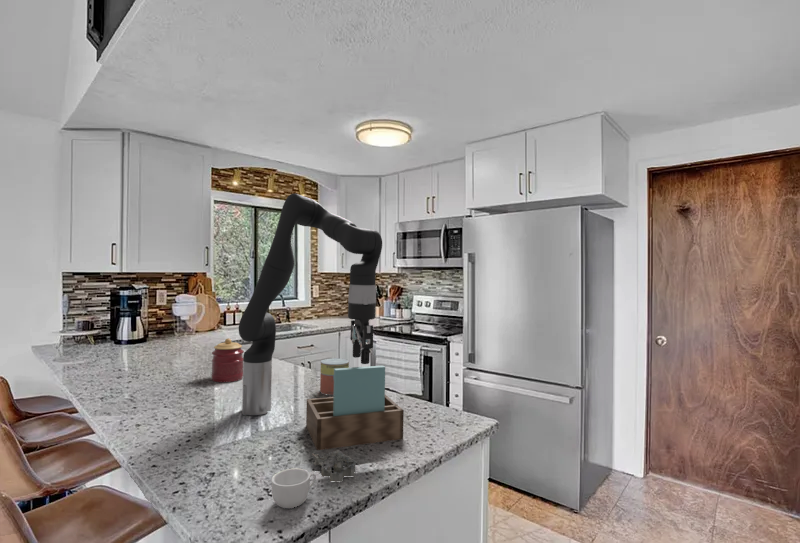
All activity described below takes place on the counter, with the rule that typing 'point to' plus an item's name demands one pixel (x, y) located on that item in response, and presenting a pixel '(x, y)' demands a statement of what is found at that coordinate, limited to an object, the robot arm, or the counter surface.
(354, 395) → the teal board
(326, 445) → the rack
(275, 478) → the teacup
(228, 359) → the canister
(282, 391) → the counter surface
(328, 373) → the canned food
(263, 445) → the counter surface
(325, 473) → the egg carton
